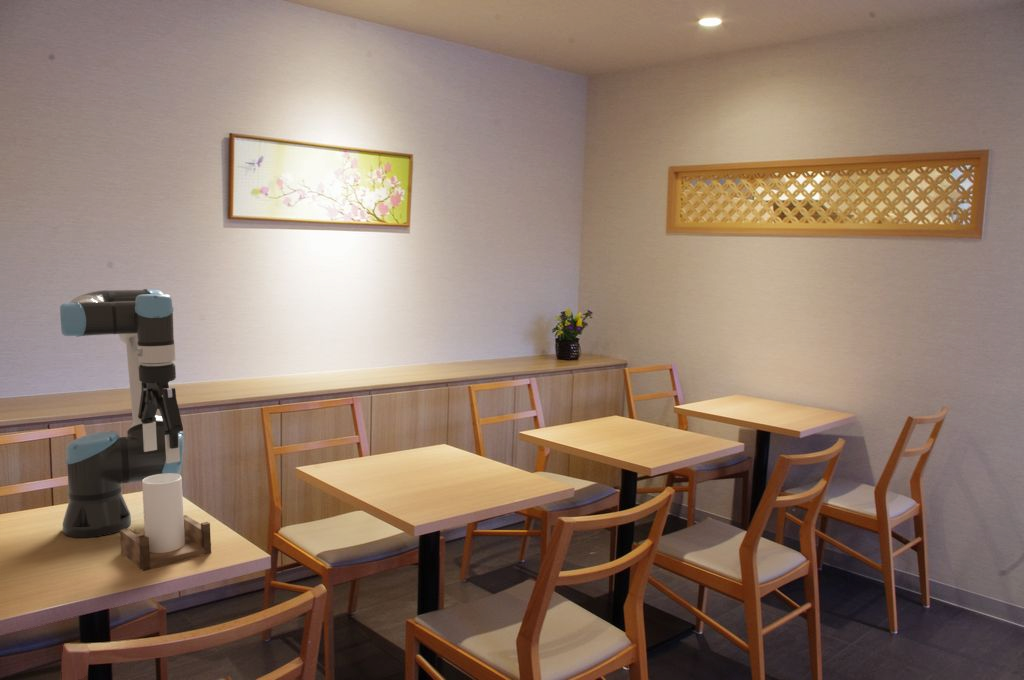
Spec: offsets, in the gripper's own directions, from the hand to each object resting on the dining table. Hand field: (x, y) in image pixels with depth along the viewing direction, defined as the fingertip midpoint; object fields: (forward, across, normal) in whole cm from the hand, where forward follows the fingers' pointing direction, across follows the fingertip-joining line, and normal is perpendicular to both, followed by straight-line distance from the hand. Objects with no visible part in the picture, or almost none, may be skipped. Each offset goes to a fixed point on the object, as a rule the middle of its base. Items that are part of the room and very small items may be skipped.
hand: (161, 456), depth 180 cm
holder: (+23, 0, 0) cm, 23 cm away
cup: (+21, 0, 0) cm, 21 cm away
